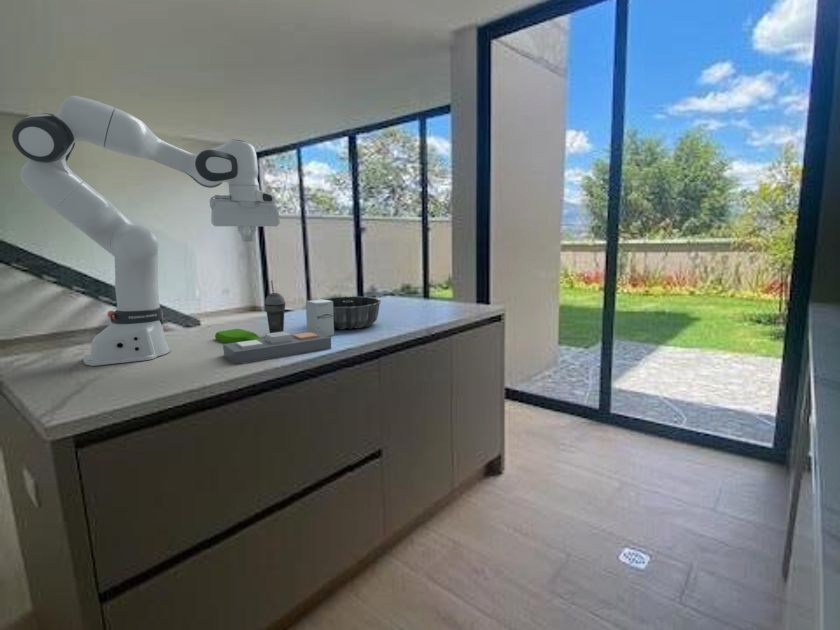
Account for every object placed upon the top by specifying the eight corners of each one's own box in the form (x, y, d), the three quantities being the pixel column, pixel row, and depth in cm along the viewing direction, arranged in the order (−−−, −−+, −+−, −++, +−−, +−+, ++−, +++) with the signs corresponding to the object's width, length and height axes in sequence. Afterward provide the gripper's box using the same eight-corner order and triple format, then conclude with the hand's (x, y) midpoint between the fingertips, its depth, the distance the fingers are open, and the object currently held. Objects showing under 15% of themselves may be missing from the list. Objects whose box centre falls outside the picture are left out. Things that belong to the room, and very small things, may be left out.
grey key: (272, 346, 144) (272, 337, 143) (265, 343, 148) (265, 333, 148) (291, 343, 147) (291, 334, 147) (284, 340, 152) (283, 331, 151)
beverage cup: (274, 338, 166) (271, 282, 162) (262, 336, 170) (258, 280, 167) (291, 335, 172) (288, 280, 168) (279, 332, 176) (276, 279, 173)
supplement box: (316, 338, 167) (314, 303, 164) (306, 334, 172) (305, 300, 170) (334, 335, 171) (333, 301, 169) (324, 332, 177) (323, 298, 175)
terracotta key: (301, 347, 149) (300, 337, 149) (293, 343, 154) (292, 334, 153) (318, 344, 153) (318, 335, 152) (310, 340, 158) (310, 332, 157)
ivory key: (243, 356, 139) (242, 346, 138) (236, 352, 143) (236, 342, 143) (263, 353, 142) (262, 343, 142) (256, 349, 147) (256, 339, 146)
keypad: (236, 363, 135) (235, 352, 134) (223, 355, 144) (223, 344, 143) (331, 348, 153) (330, 337, 152) (315, 341, 162) (314, 331, 161)
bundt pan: (371, 333, 175) (371, 306, 173) (304, 331, 179) (303, 305, 177) (387, 320, 201) (387, 297, 199) (328, 318, 205) (327, 295, 203)
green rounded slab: (241, 335, 173) (278, 347, 157) (212, 340, 165) (248, 353, 149) (241, 327, 173) (278, 338, 157) (211, 332, 165) (247, 344, 149)
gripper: (212, 194, 137) (215, 242, 140) (280, 196, 150) (282, 241, 152) (206, 195, 142) (210, 241, 145) (272, 198, 155) (275, 240, 157)
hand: (247, 241), depth 148 cm, fingers closed
